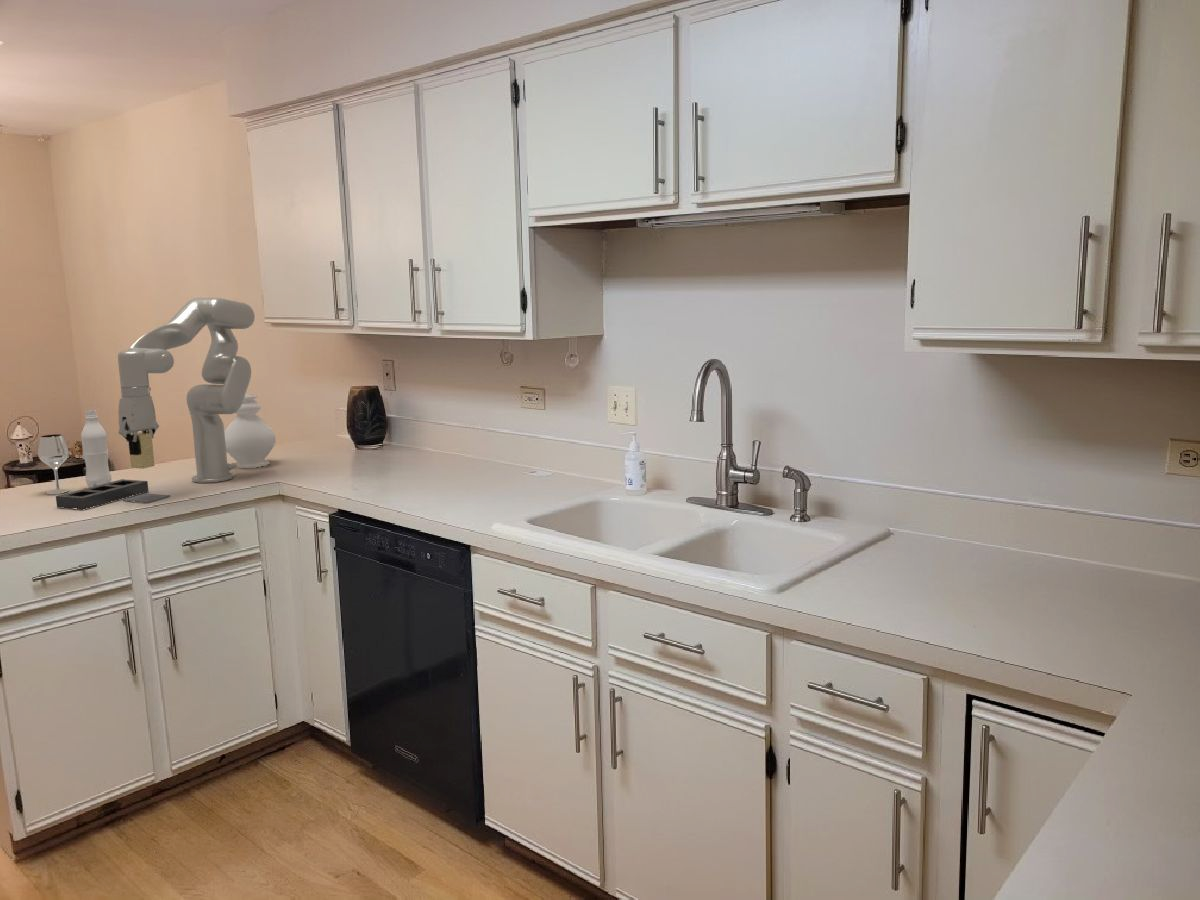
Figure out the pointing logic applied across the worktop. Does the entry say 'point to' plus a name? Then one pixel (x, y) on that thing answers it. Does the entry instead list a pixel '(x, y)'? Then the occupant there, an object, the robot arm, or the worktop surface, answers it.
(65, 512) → the worktop surface
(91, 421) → the water bottle
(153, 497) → the grey rubber mat
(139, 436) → the brass peg
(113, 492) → the dark grey compartment tray
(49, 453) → the wineglass
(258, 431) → the decorative vase
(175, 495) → the worktop surface
